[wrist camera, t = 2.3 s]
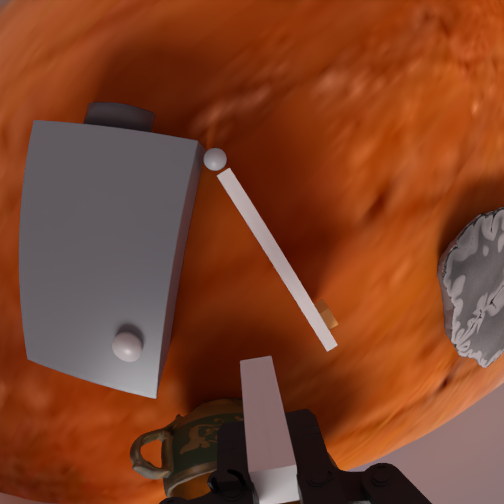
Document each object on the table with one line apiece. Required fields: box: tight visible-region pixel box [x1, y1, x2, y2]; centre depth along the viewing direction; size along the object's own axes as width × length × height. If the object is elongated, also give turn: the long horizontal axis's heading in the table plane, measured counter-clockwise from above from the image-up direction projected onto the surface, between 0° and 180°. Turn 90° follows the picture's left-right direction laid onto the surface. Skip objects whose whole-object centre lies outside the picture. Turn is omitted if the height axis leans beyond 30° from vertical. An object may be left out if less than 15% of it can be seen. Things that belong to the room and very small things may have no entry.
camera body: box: [19, 102, 206, 399], centre depth 19 cm, size 10×18×8 cm, turn 167°
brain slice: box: [437, 207, 504, 368], centre depth 25 cm, size 20×17×3 cm
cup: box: [130, 398, 339, 504], centre depth 24 cm, size 13×20×10 cm, turn 29°
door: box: [204, 148, 338, 352], centre depth 20 cm, size 2×14×6 cm, turn 31°
